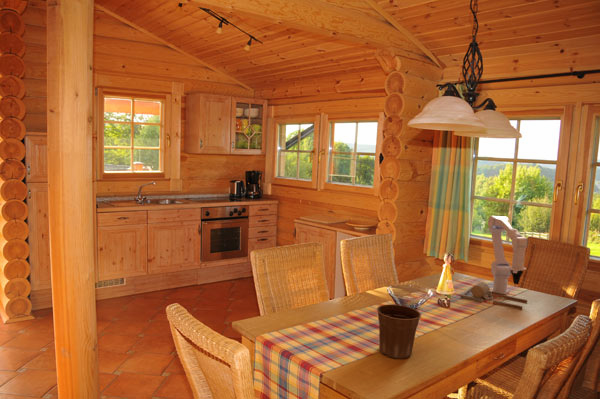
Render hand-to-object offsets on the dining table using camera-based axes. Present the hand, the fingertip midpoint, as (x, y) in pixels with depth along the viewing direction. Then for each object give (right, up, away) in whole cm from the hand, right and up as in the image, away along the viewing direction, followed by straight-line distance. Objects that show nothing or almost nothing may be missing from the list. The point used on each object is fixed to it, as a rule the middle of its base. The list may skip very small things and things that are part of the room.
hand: (516, 283), depth 240 cm
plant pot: (-80, -13, -70) cm, 107 cm away
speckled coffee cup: (-17, -9, +4) cm, 19 cm away
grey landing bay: (-19, -8, +6) cm, 21 cm away
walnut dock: (-5, -10, -3) cm, 11 cm away
